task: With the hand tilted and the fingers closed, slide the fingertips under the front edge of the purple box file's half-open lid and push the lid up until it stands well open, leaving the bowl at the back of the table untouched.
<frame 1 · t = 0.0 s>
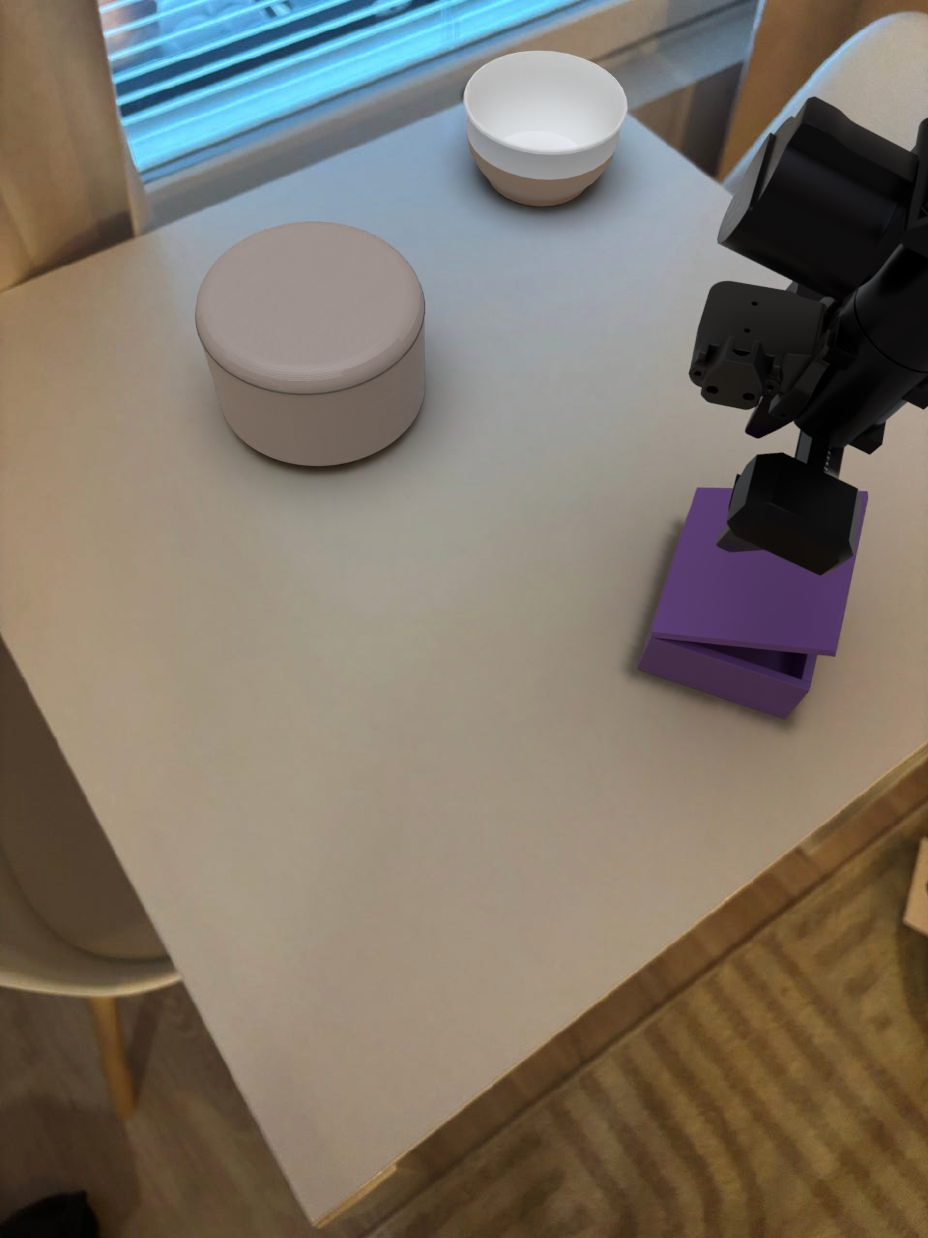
hand: (737, 488, 59), 17 cm above the table, tool pointing down, fingers open, 9 cm apart
bowl: (537, 173, 98), on the table
box file: (730, 620, 74), on the table
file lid: (760, 564, 66), point 8 cm above the table, hinge at 25.0°
container: (324, 396, 83), on the table
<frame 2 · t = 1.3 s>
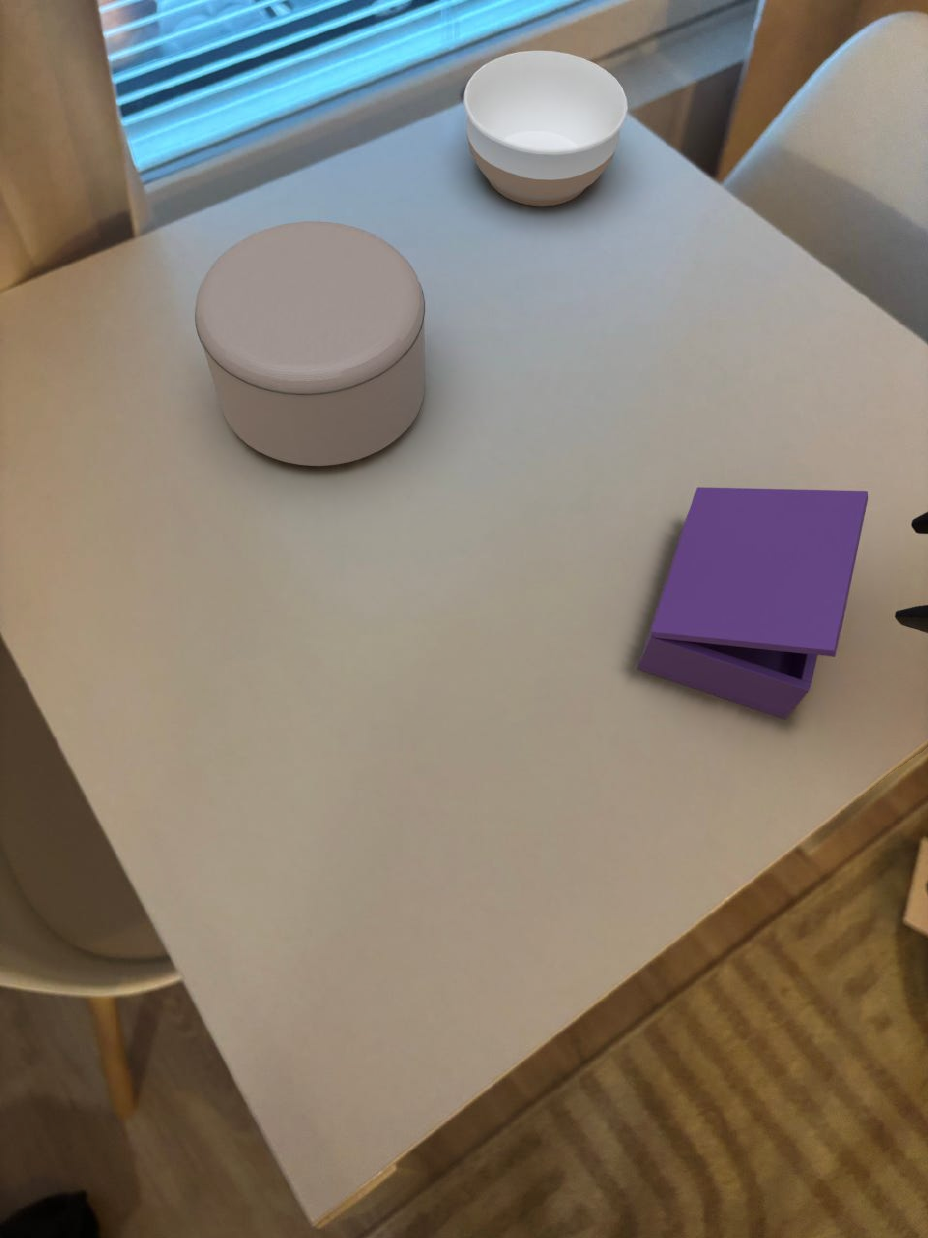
hand: (905, 571, 61), 12 cm above the table, tool tilted 45°, fingers open, 7 cm apart
nothing on the table moved.
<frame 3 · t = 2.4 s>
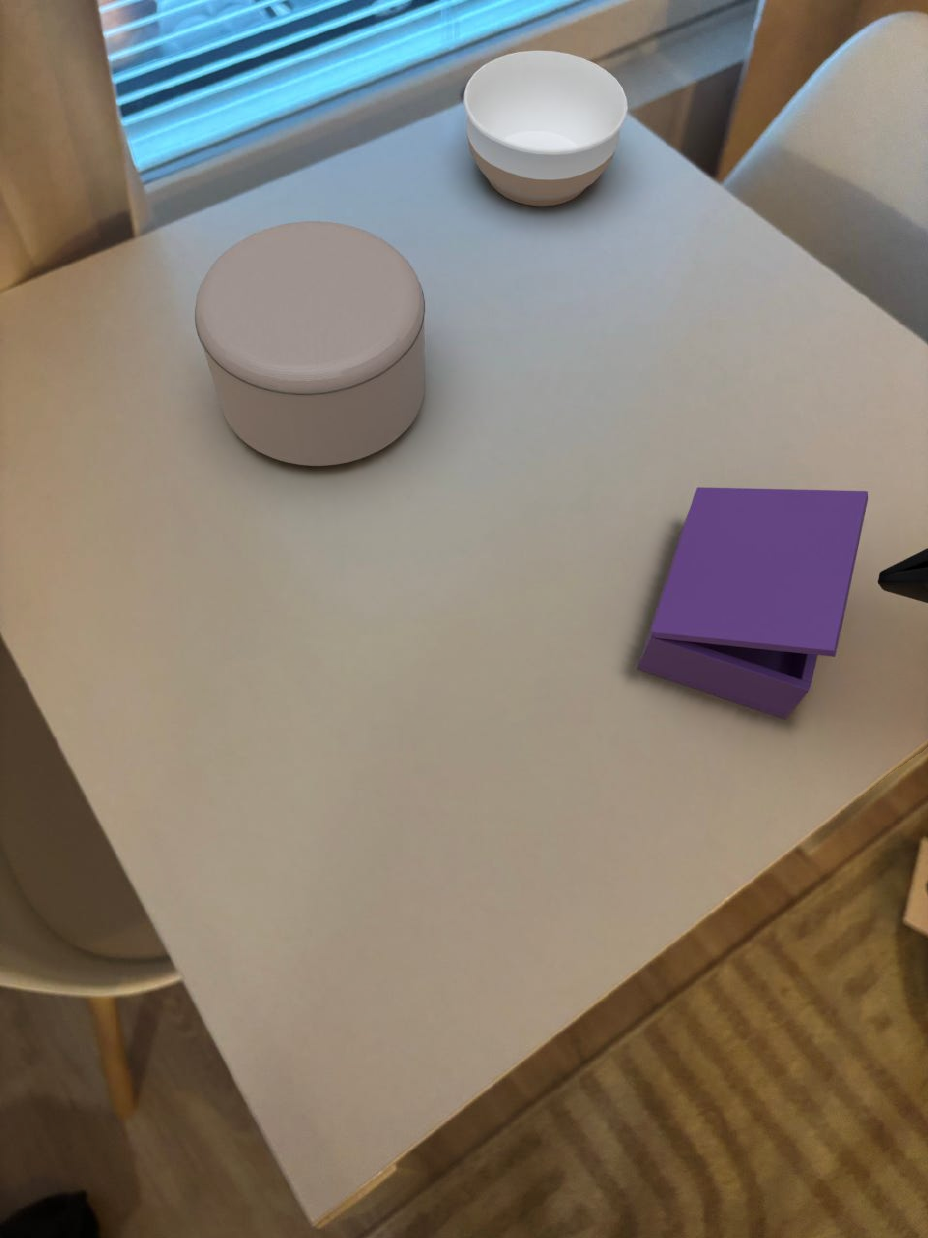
hand: (880, 581, 63), 11 cm above the table, tool tilted 45°, fingers closed
nothing on the table moved.
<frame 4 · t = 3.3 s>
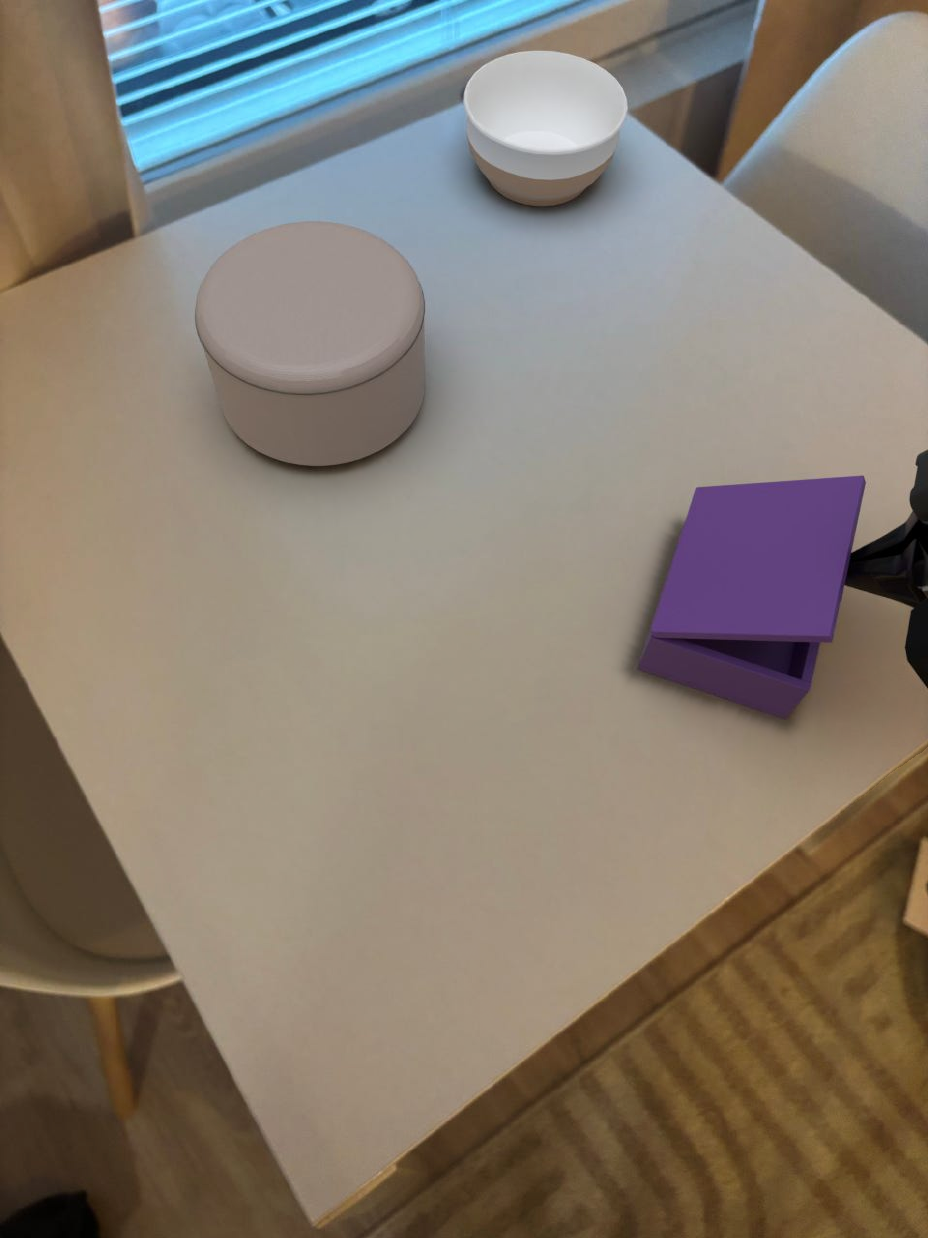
hand: (830, 573, 64), 10 cm above the table, tool tilted 45°, fingers closed, pressing on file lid
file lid: (757, 557, 66), point 9 cm above the table, hinge at 32.8°, touching gripper
everything else where it was.
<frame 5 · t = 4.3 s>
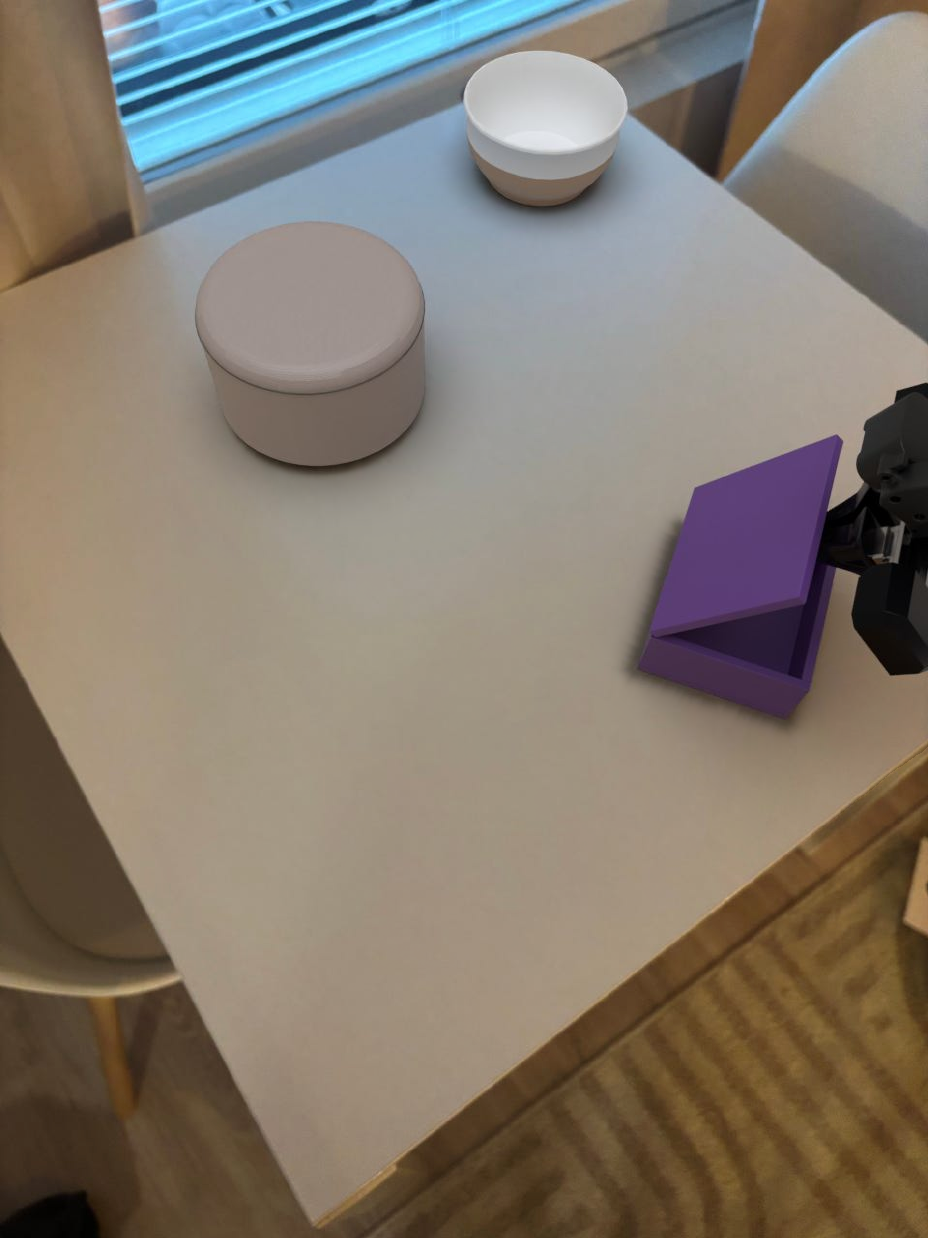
hand: (785, 545, 64), 11 cm above the table, tool tilted 45°, fingers closed, pressing on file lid
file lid: (743, 538, 65), point 11 cm above the table, hinge at 52.9°, touching gripper
everything else where it was.
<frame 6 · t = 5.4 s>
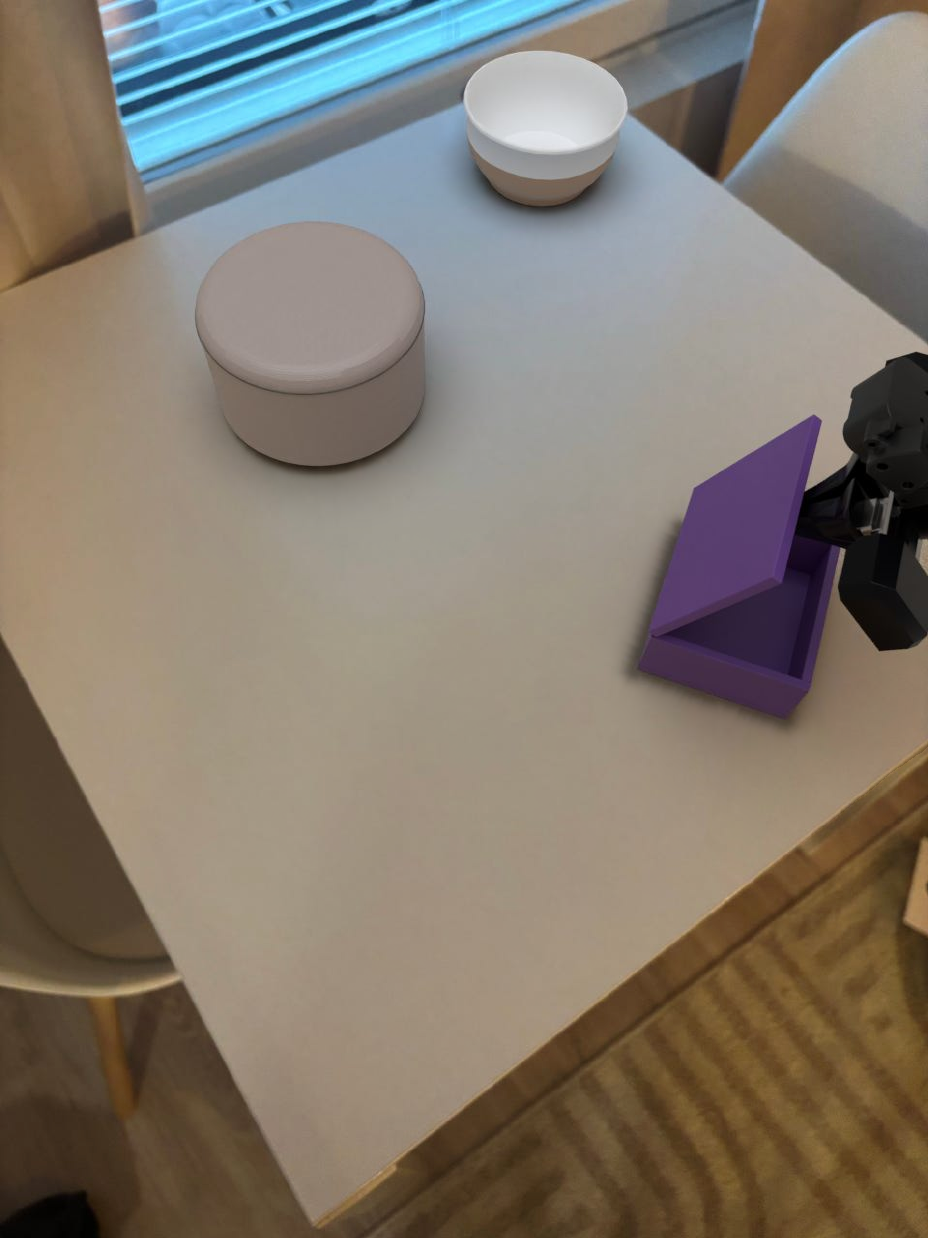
hand: (773, 520, 62), 13 cm above the table, tool tilted 45°, fingers closed, pressing on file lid
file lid: (732, 529, 64), point 11 cm above the table, hinge at 63.6°, touching gripper
everything else where it was.
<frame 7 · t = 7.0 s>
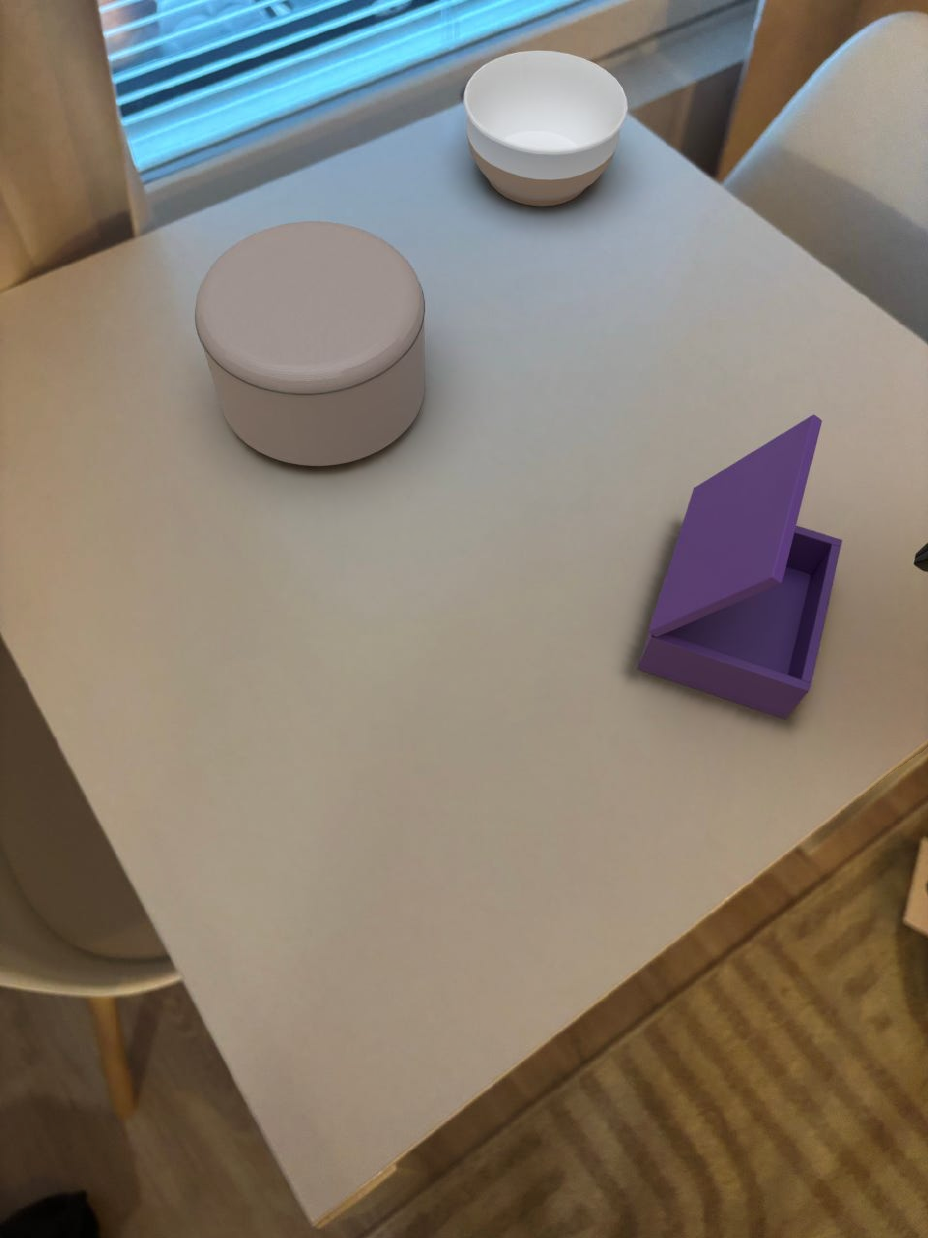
hand: (918, 563, 62), 12 cm above the table, tool tilted 25°, fingers closed
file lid: (732, 529, 64), point 11 cm above the table, hinge at 63.6°
everything else where it was.
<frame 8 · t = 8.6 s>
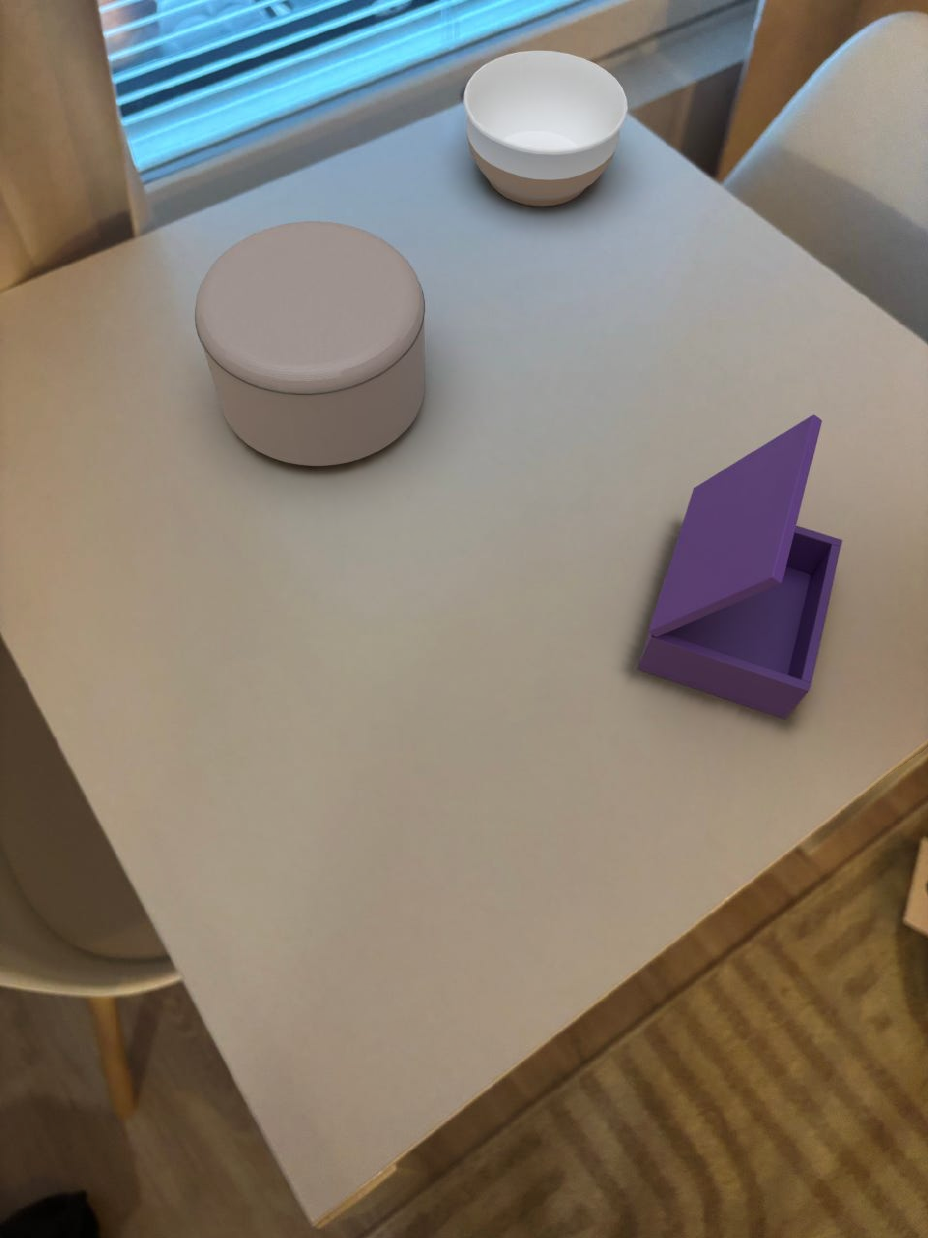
nothing on the table moved.
at the end: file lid at +64° (first picture: +25°); bowl moved 0.2 cm from its start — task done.
